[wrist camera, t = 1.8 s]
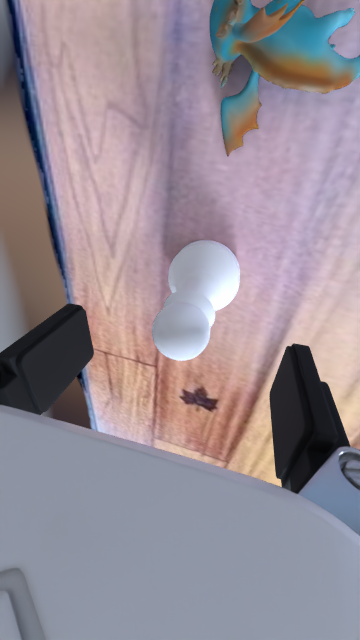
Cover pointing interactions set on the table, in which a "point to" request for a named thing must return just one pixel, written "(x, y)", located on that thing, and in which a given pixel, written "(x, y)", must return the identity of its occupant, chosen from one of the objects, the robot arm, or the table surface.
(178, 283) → the chess pawn
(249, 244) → the table surface
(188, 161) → the table surface
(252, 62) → the dragon figurine
